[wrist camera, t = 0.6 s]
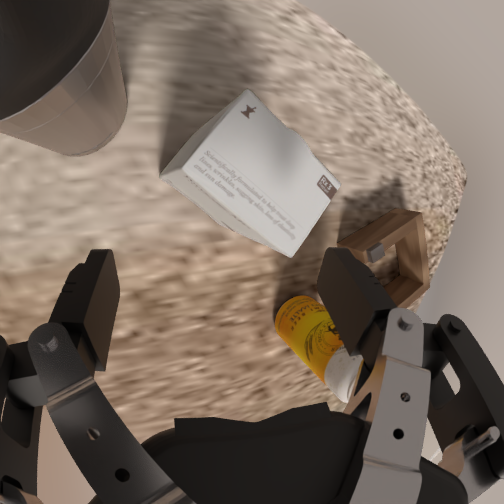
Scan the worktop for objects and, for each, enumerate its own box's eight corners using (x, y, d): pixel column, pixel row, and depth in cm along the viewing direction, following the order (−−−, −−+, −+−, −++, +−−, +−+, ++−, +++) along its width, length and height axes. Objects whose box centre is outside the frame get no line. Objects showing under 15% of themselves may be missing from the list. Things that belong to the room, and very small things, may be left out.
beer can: (312, 286, 35) (400, 340, 21) (317, 326, 37) (394, 387, 23) (267, 303, 33) (344, 375, 20) (276, 344, 35) (345, 420, 22)
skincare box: (157, 177, 26) (166, 168, 13) (196, 129, 26) (245, 80, 13) (223, 227, 30) (290, 266, 16) (258, 181, 30) (348, 183, 16)
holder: (336, 243, 35) (367, 253, 30) (395, 208, 38) (426, 213, 32) (355, 317, 39) (381, 333, 34) (406, 278, 42) (433, 288, 36)
